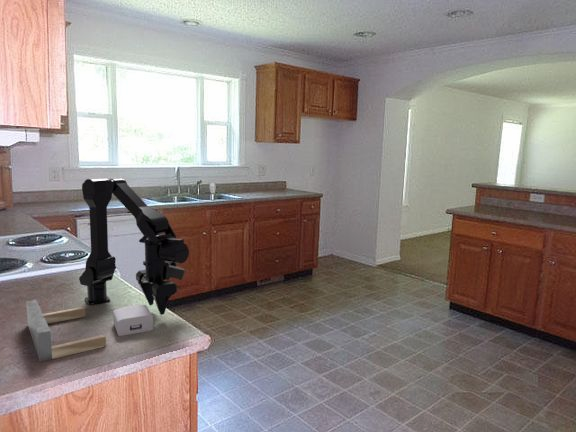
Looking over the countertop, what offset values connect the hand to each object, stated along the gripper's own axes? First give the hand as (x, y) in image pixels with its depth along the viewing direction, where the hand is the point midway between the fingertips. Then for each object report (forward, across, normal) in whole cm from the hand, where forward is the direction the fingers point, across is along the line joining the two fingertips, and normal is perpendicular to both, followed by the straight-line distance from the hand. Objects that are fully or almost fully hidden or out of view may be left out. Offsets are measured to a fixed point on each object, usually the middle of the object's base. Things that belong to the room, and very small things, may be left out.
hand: (156, 309), depth 127 cm
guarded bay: (+2, 0, +25) cm, 25 cm away
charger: (+2, -1, +8) cm, 8 cm away
